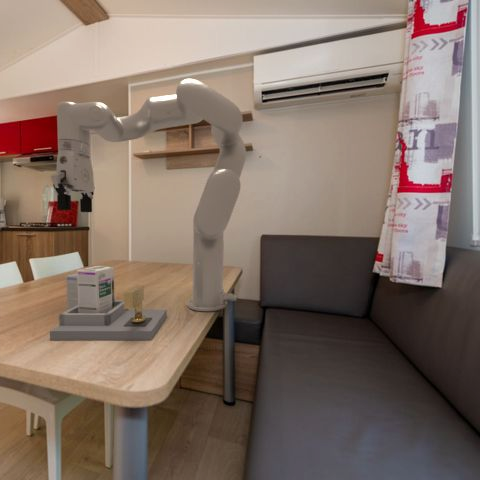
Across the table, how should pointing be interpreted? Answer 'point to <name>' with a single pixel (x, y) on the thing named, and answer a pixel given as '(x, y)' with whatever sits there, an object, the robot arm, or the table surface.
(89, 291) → the syrup box
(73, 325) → the plate
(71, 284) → the light bulb box
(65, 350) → the table surface
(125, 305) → the brass key
